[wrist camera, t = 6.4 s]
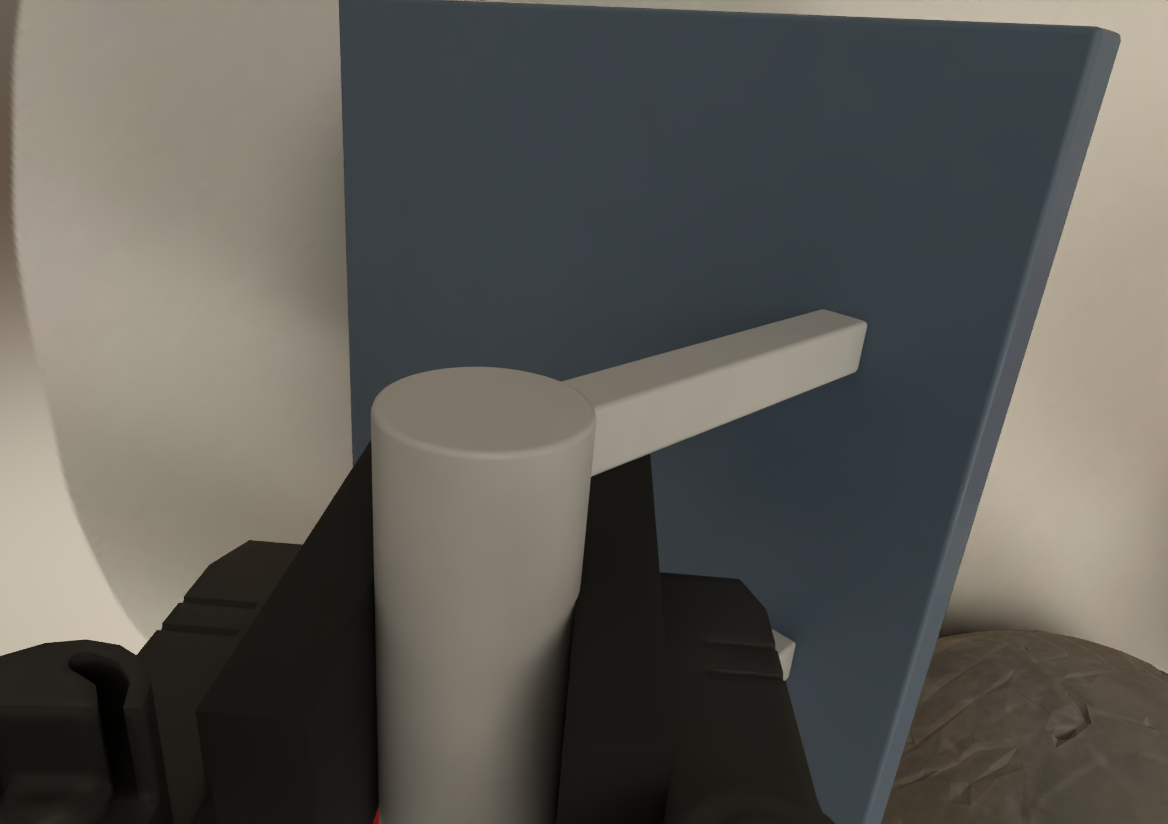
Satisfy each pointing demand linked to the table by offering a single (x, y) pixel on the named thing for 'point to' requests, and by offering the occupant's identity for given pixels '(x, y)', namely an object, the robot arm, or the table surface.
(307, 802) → the robot arm
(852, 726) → the box lid
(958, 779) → the bowl
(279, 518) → the table surface
